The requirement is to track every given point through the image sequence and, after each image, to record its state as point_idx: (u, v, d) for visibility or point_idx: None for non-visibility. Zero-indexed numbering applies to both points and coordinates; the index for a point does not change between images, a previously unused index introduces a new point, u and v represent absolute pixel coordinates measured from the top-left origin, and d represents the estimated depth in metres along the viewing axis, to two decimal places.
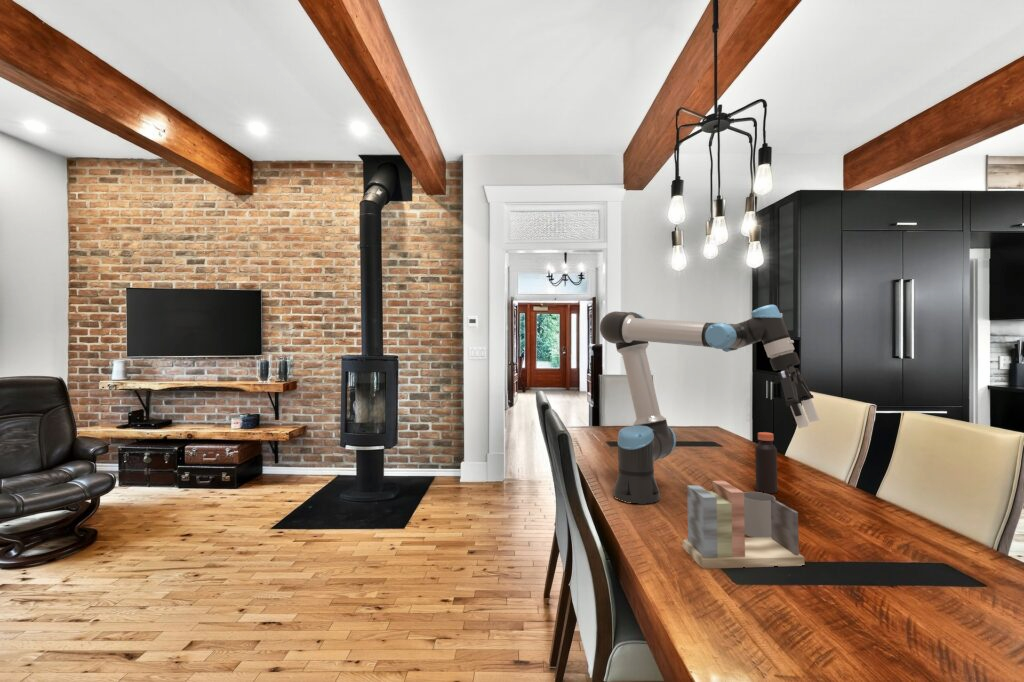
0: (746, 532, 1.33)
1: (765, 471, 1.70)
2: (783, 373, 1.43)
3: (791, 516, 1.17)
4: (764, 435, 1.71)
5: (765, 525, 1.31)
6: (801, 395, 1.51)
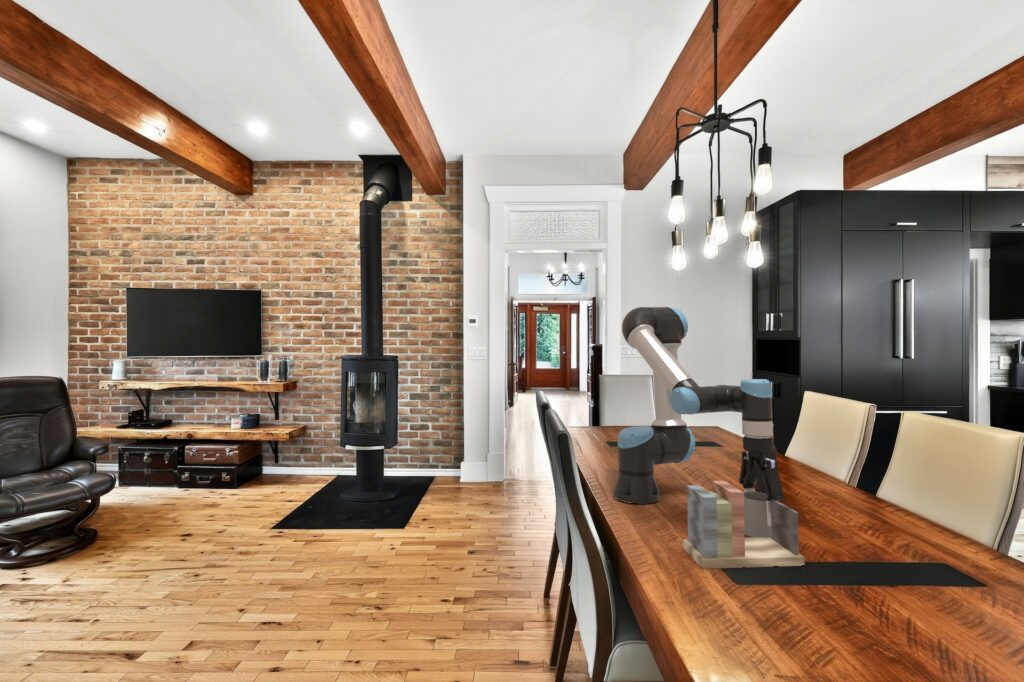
0: (747, 532, 1.33)
1: None
2: (773, 463, 1.27)
3: (791, 516, 1.17)
4: None
5: (766, 525, 1.30)
6: (748, 482, 1.39)
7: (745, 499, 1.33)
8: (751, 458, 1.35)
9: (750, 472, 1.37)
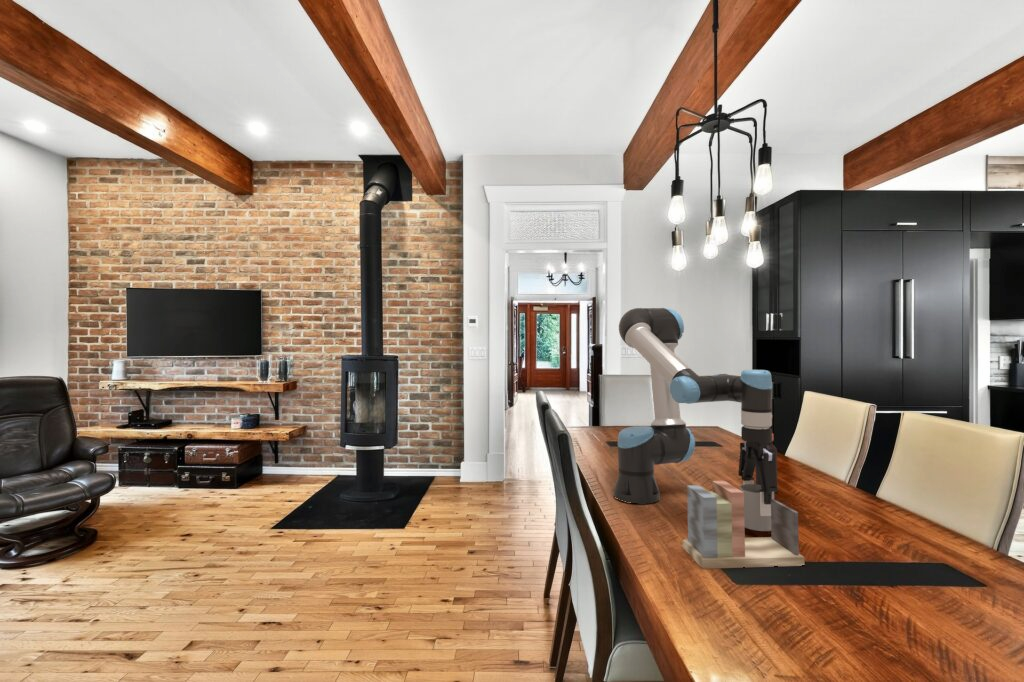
0: None
1: None
2: (770, 456, 1.28)
3: (791, 516, 1.17)
4: None
5: (764, 517, 1.31)
6: (747, 474, 1.39)
7: (743, 491, 1.34)
8: (749, 448, 1.36)
9: (748, 463, 1.37)
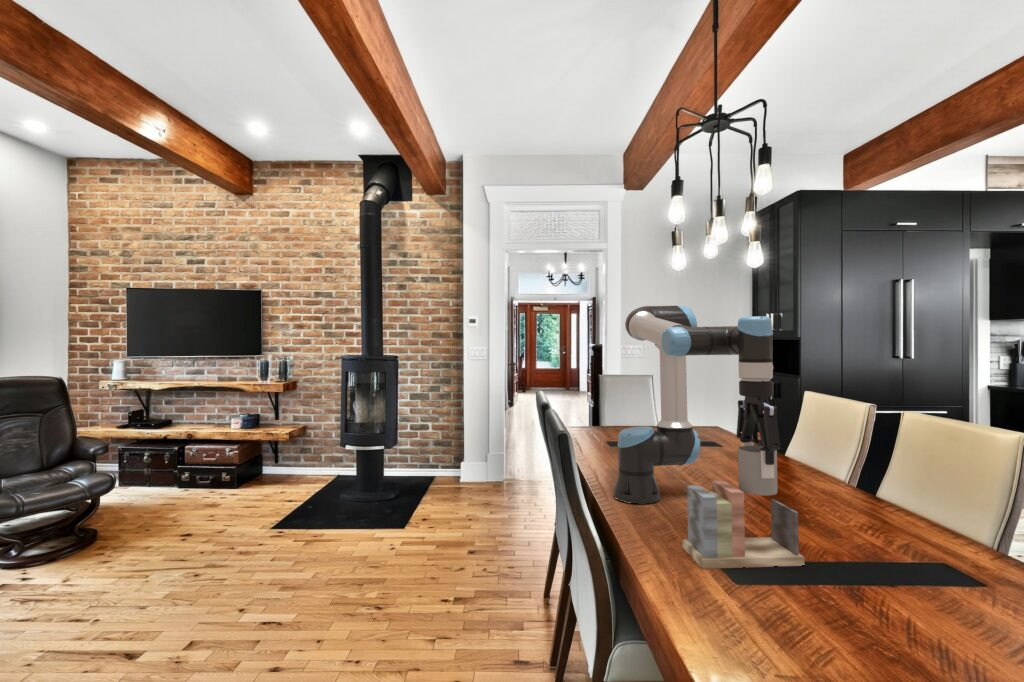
0: (744, 489, 1.19)
1: None
2: (771, 410, 1.14)
3: (791, 516, 1.17)
4: None
5: (765, 480, 1.16)
6: (746, 434, 1.25)
7: (742, 452, 1.20)
8: (748, 404, 1.21)
9: (747, 421, 1.23)
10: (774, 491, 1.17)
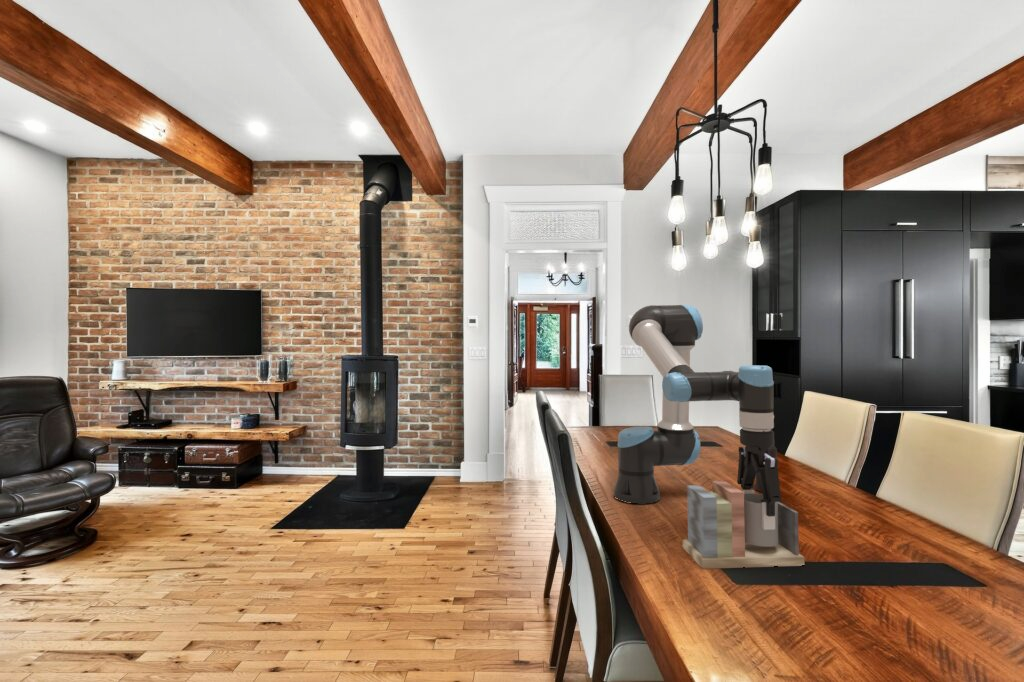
0: (745, 539, 1.19)
1: None
2: (772, 462, 1.14)
3: (791, 516, 1.17)
4: None
5: (766, 531, 1.16)
6: (747, 482, 1.24)
7: None
8: (748, 453, 1.21)
9: (748, 470, 1.23)
10: (775, 542, 1.17)
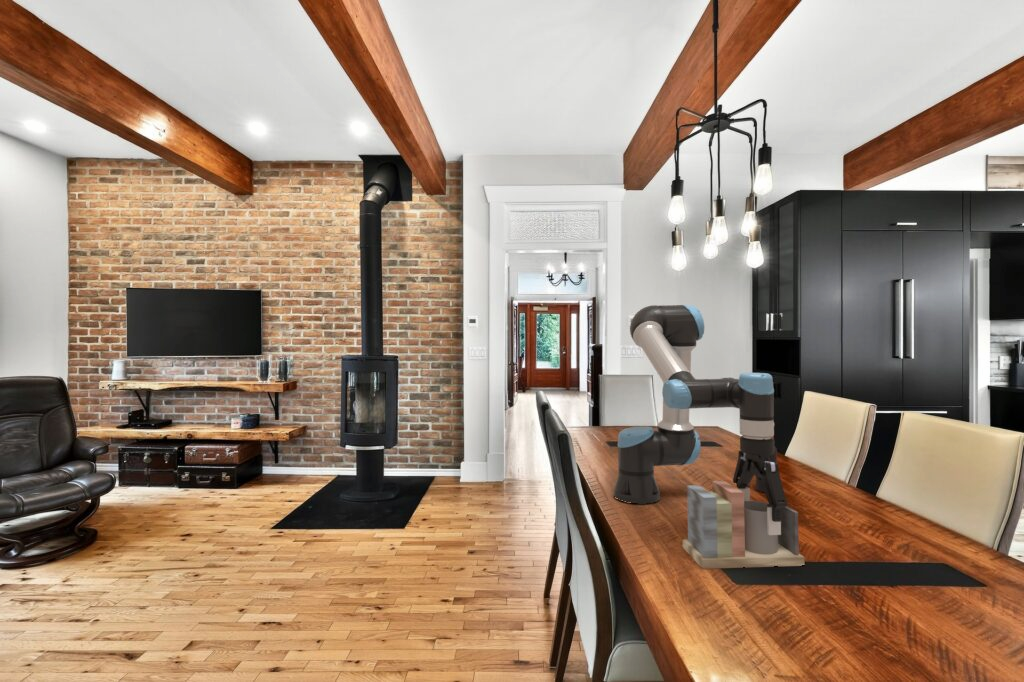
0: (745, 546, 1.19)
1: None
2: (773, 466, 1.14)
3: (791, 516, 1.17)
4: None
5: (766, 539, 1.16)
6: (742, 483, 1.27)
7: None
8: (749, 461, 1.21)
9: (746, 474, 1.24)
10: (775, 550, 1.17)
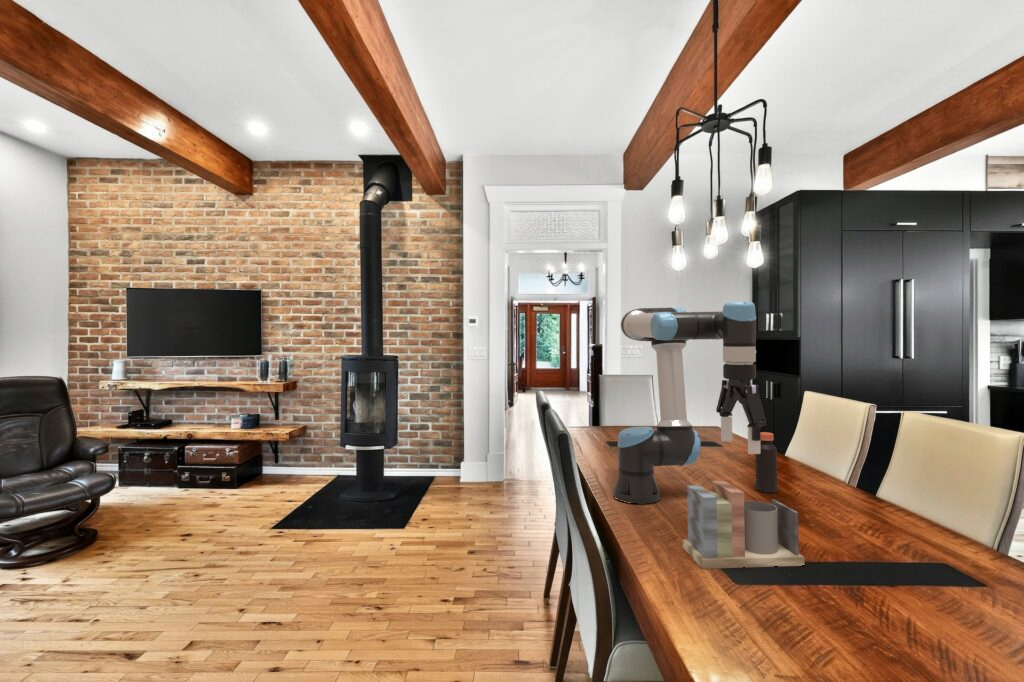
0: (745, 546, 1.19)
1: (765, 471, 1.70)
2: (753, 388, 1.18)
3: (791, 516, 1.17)
4: (764, 435, 1.71)
5: (766, 539, 1.16)
6: (725, 411, 1.31)
7: None
8: (731, 387, 1.26)
9: (728, 401, 1.28)
10: (775, 550, 1.17)
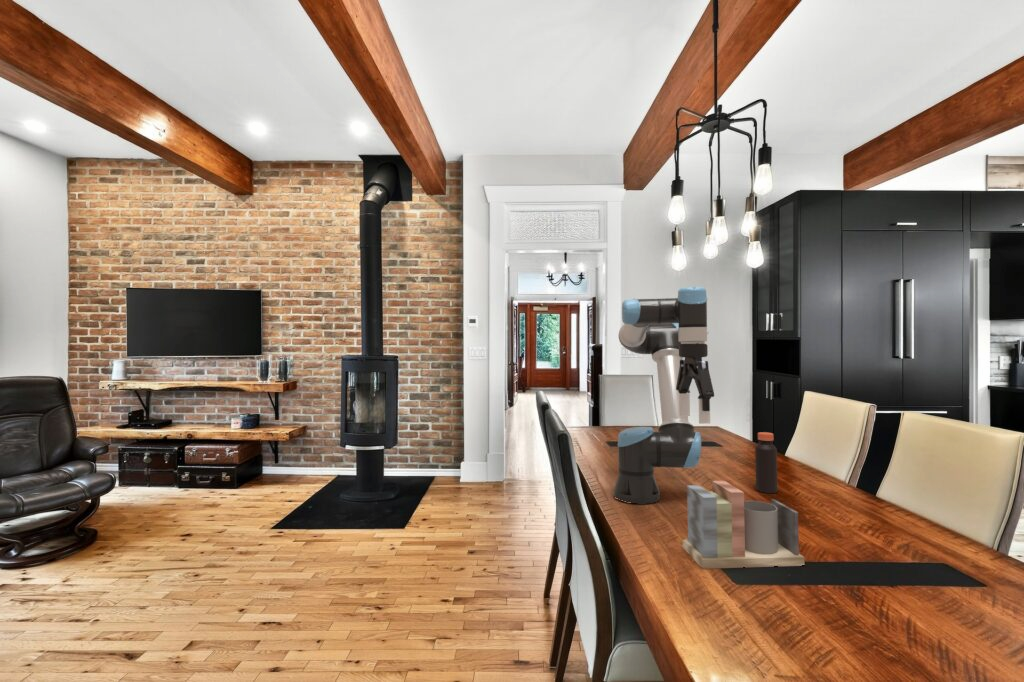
0: (745, 546, 1.19)
1: (765, 471, 1.70)
2: (703, 364, 1.31)
3: (791, 516, 1.17)
4: (764, 435, 1.71)
5: (766, 539, 1.16)
6: (683, 388, 1.43)
7: None
8: (686, 365, 1.38)
9: (685, 378, 1.41)
10: (775, 550, 1.17)
